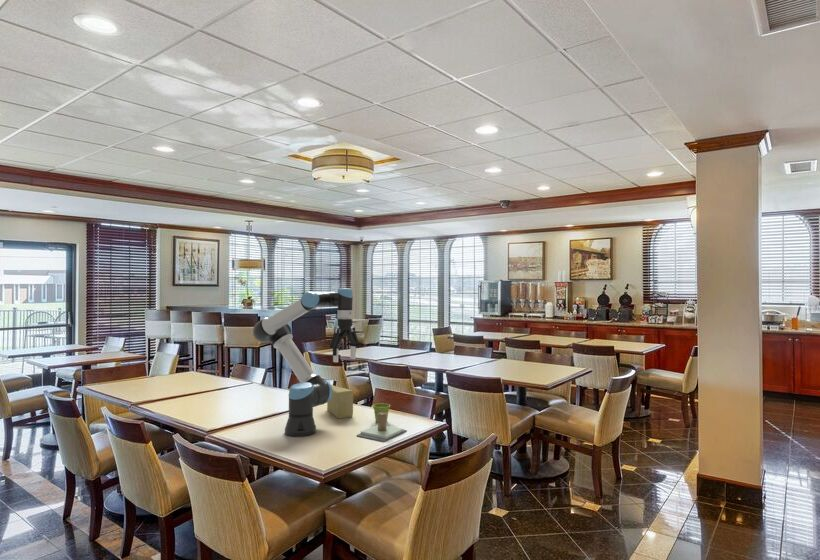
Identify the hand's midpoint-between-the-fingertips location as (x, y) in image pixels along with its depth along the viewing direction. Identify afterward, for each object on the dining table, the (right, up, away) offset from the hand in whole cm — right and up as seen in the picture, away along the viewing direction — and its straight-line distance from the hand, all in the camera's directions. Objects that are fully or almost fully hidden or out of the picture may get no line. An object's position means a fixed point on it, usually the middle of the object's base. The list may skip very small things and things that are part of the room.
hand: (344, 360), depth 239 cm
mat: (+19, -35, -7) cm, 40 cm away
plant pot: (+18, -36, +15) cm, 42 cm away
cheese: (-9, -36, +31) cm, 48 cm away
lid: (+19, -34, -7) cm, 40 cm away
